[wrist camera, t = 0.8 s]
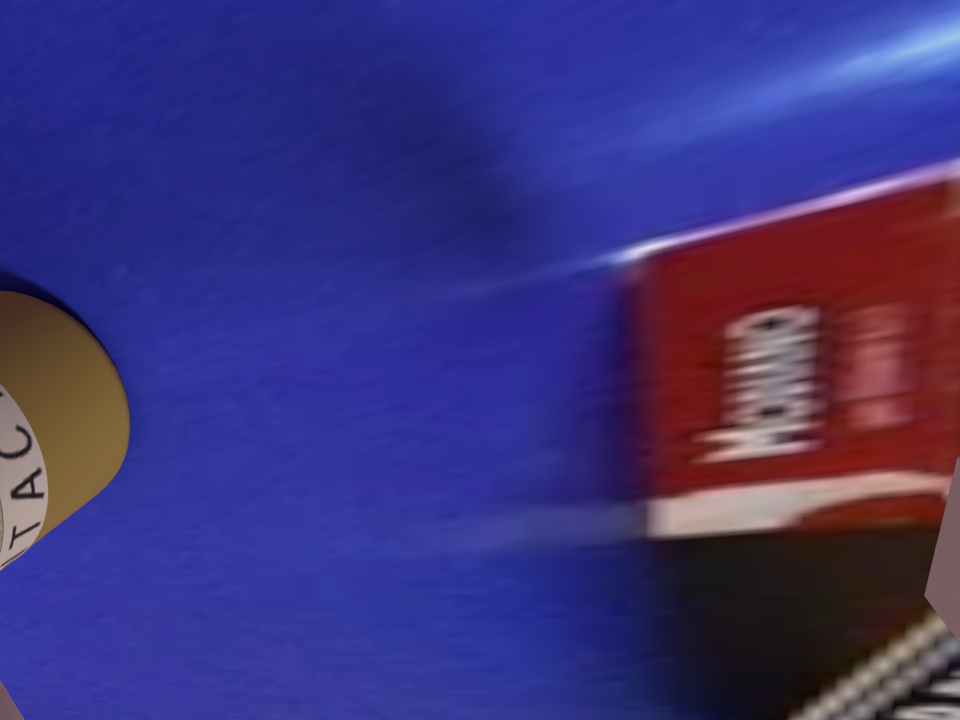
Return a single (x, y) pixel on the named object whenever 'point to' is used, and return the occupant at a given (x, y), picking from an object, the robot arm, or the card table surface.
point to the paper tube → (53, 420)
